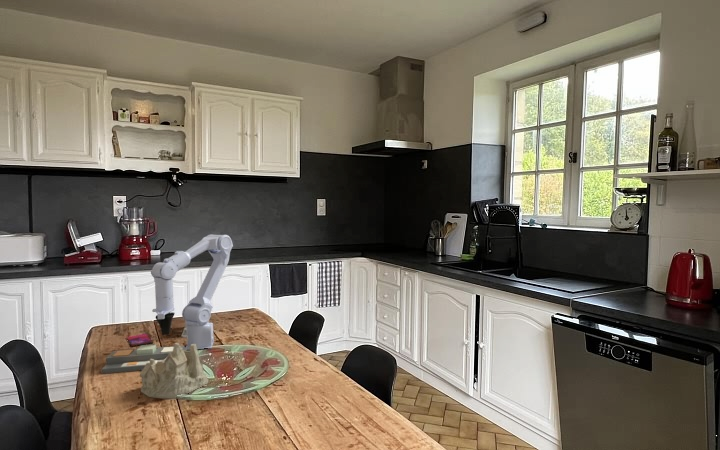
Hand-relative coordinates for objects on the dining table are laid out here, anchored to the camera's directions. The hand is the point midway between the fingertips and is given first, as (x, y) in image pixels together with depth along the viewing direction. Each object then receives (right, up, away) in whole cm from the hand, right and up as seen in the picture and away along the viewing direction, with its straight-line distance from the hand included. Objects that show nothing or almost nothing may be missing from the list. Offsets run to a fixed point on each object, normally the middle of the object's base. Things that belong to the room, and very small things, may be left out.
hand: (165, 334), depth 155 cm
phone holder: (-2, -7, +33) cm, 33 cm away
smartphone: (-19, -8, +20) cm, 29 cm away
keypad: (-4, -8, -5) cm, 11 cm away
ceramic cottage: (+14, -9, -26) cm, 31 cm away
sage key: (-4, -5, -5) cm, 8 cm away
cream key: (+3, -6, -3) cm, 8 cm away
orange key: (-12, -7, -6) cm, 15 cm away
